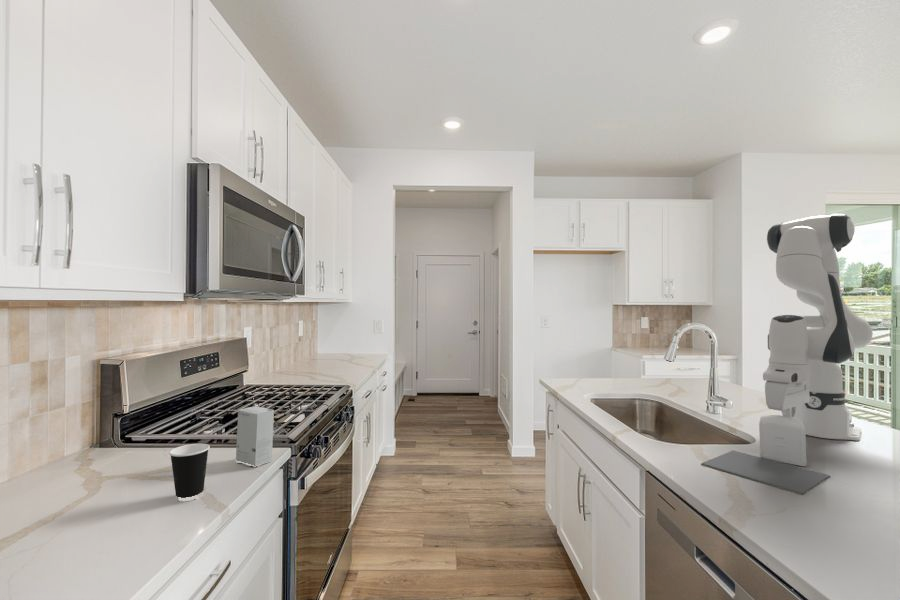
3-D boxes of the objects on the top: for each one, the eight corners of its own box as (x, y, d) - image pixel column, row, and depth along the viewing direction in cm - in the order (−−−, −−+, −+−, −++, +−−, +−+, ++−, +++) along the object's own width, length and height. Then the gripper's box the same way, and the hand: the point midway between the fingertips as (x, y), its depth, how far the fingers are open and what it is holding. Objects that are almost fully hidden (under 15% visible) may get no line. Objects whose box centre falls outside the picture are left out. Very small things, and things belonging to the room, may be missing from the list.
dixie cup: (160, 502, 95) (160, 452, 95) (193, 487, 103) (193, 441, 103) (186, 507, 92) (186, 456, 93) (217, 492, 100) (217, 445, 100)
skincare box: (235, 463, 118) (235, 409, 118) (254, 456, 124) (254, 405, 124) (256, 468, 114) (256, 413, 114) (274, 461, 120) (274, 408, 120)
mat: (733, 451, 125) (733, 450, 125) (830, 476, 107) (830, 475, 107) (701, 464, 115) (701, 463, 115) (802, 494, 97) (802, 493, 97)
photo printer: (757, 457, 120) (757, 413, 120) (762, 454, 123) (761, 411, 123) (804, 468, 112) (803, 421, 112) (808, 464, 115) (807, 418, 115)
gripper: (789, 368, 129) (790, 414, 129) (759, 374, 118) (760, 425, 118) (816, 371, 124) (816, 419, 124) (787, 377, 113) (788, 430, 112)
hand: (789, 422), depth 120 cm, fingers closed
